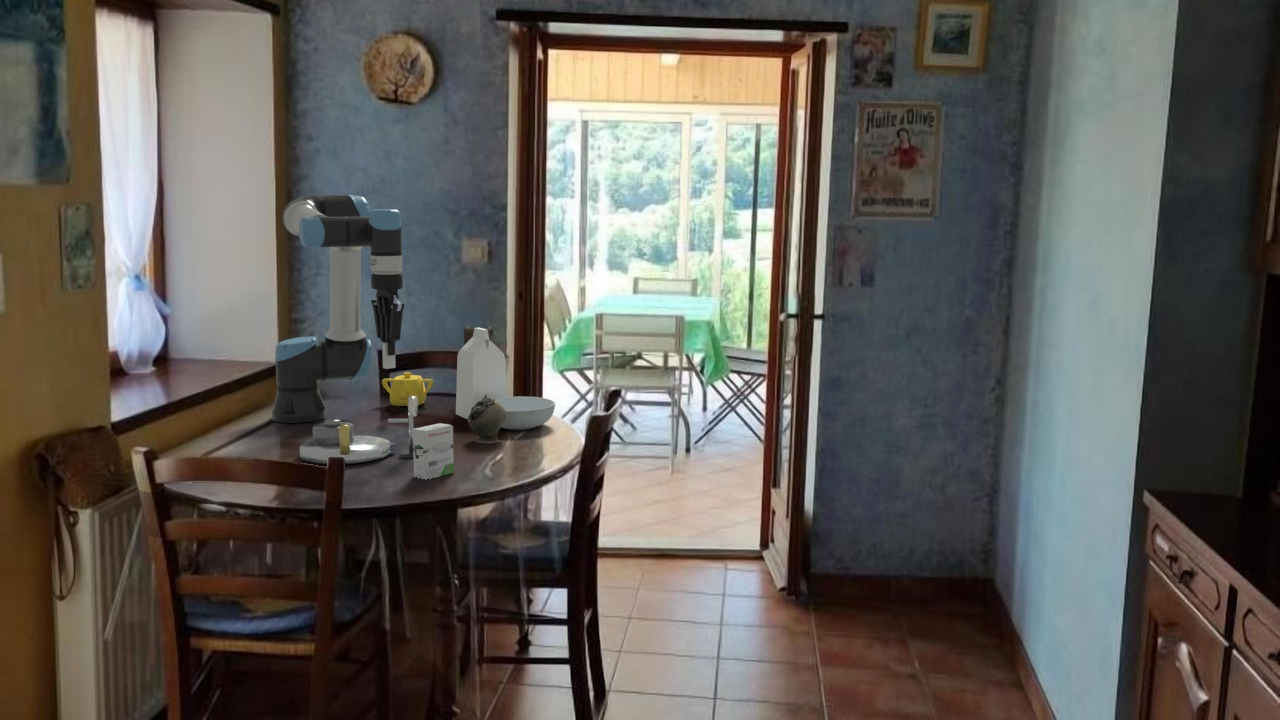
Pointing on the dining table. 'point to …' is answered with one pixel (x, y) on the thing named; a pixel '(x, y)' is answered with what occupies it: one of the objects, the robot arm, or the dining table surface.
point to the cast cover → (330, 432)
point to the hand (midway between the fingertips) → (389, 367)
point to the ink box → (433, 451)
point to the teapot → (407, 388)
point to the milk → (479, 372)
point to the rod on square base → (411, 412)
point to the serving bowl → (526, 412)
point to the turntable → (348, 448)
